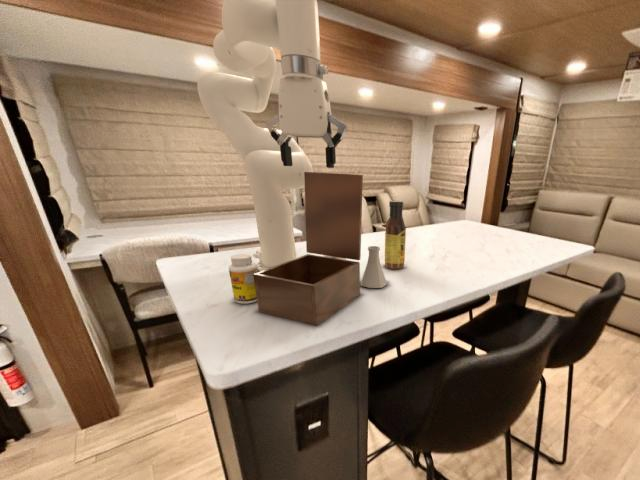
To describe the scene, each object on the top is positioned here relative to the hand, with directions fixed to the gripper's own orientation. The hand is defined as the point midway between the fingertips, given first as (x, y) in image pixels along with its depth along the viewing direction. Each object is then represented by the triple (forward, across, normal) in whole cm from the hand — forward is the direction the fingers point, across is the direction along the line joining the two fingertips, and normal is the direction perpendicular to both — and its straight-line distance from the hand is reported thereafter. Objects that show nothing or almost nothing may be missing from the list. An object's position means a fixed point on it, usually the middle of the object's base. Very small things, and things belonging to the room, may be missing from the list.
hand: (309, 166), depth 68 cm
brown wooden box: (+28, -2, +10) cm, 30 cm away
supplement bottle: (+28, +12, +11) cm, 33 cm away
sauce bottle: (+28, -17, -22) cm, 40 cm away
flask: (+29, -14, -5) cm, 32 cm away
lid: (+10, -5, +1) cm, 11 cm away
